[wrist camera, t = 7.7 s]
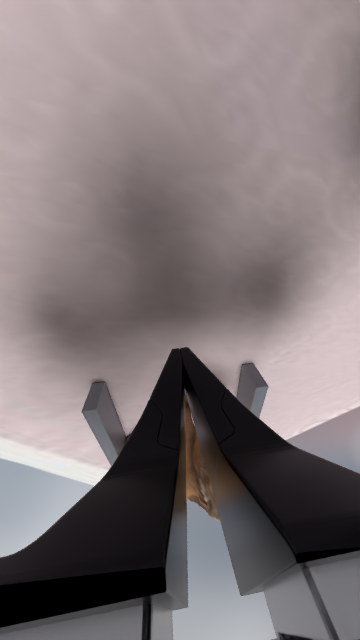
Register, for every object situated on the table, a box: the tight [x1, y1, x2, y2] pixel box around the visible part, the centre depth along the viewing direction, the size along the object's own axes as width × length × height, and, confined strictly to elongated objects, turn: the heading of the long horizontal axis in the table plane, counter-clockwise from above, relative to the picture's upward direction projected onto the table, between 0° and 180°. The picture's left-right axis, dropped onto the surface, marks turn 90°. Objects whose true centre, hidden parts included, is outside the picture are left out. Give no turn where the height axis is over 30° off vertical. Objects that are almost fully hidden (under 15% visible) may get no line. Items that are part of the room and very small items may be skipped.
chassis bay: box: [82, 363, 268, 466], centre depth 18 cm, size 14×14×2 cm
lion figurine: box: [126, 396, 221, 523], centre depth 15 cm, size 15×5×9 cm, turn 143°
